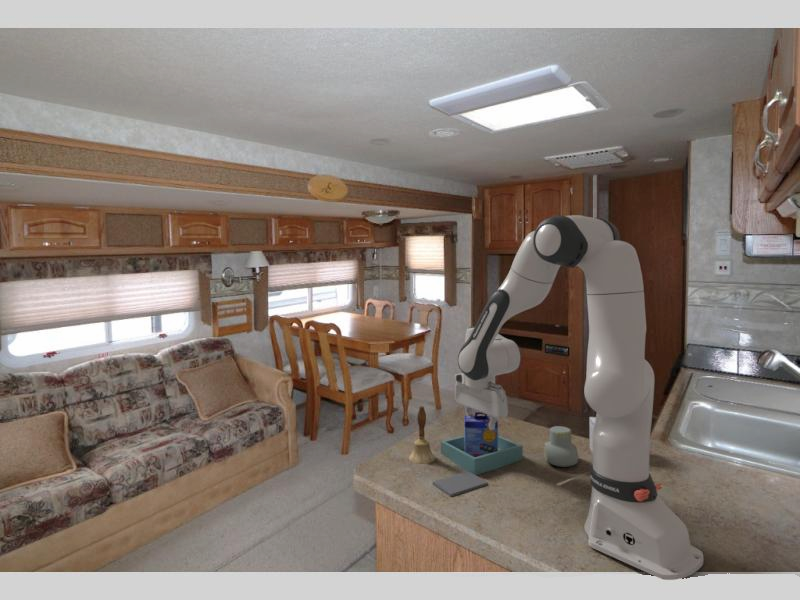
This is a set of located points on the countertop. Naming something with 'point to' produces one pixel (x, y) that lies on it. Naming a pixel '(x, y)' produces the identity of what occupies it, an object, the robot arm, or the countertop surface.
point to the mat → (459, 483)
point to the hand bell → (421, 443)
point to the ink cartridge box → (479, 435)
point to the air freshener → (560, 448)
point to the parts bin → (486, 462)
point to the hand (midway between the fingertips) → (480, 425)
